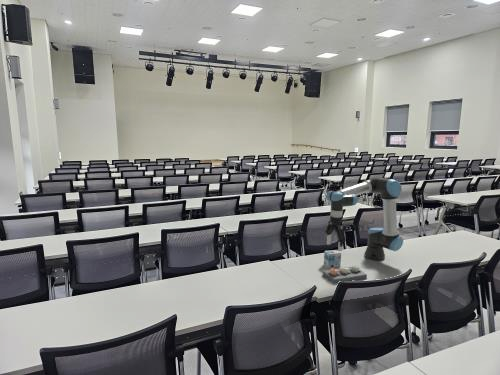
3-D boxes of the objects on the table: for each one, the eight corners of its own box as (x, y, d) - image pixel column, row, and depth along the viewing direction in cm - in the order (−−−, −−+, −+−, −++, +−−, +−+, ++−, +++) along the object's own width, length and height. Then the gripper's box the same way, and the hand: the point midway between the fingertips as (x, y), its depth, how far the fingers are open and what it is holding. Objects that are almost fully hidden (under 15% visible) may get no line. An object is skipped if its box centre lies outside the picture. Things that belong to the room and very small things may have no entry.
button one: (356, 269, 226) (356, 264, 225) (360, 272, 221) (360, 267, 221) (349, 270, 224) (350, 265, 224) (354, 273, 220) (354, 268, 219)
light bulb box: (327, 268, 235) (328, 254, 233) (323, 264, 241) (323, 250, 239) (340, 266, 237) (341, 252, 236) (336, 263, 244) (336, 249, 242)
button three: (334, 272, 221) (335, 267, 220) (339, 275, 216) (339, 270, 215) (328, 273, 219) (328, 268, 218) (332, 276, 214) (332, 271, 214)
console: (353, 270, 231) (353, 266, 231) (366, 278, 218) (366, 274, 218) (322, 275, 223) (323, 270, 223) (334, 283, 210) (334, 279, 210)
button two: (345, 270, 223) (345, 266, 223) (350, 273, 219) (350, 269, 218) (339, 271, 222) (339, 267, 221) (343, 274, 217) (344, 270, 217)
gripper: (321, 212, 222) (319, 242, 226) (342, 221, 199) (340, 254, 202) (330, 211, 225) (329, 241, 228) (352, 220, 201) (350, 253, 205)
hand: (334, 247), depth 215 cm, fingers open, 13 cm apart
